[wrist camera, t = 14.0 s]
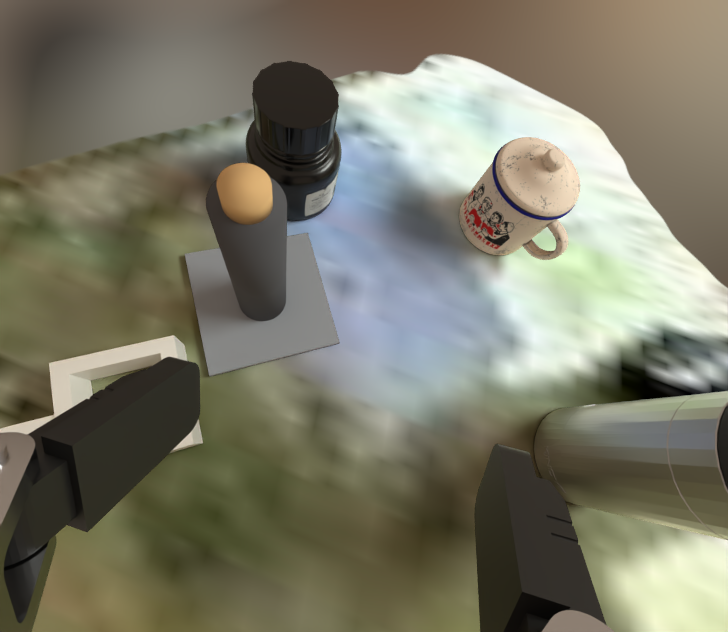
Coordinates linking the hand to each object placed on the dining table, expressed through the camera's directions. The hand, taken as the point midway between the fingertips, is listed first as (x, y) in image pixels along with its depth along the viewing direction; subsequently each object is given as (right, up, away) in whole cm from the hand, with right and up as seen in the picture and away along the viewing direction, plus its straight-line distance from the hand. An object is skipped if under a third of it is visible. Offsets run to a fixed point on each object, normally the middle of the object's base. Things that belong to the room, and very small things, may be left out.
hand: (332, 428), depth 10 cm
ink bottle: (-7, +17, +32) cm, 37 cm away
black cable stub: (-9, +5, +26) cm, 28 cm away
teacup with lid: (+17, +13, +35) cm, 41 cm away
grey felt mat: (-9, +4, +27) cm, 29 cm away
